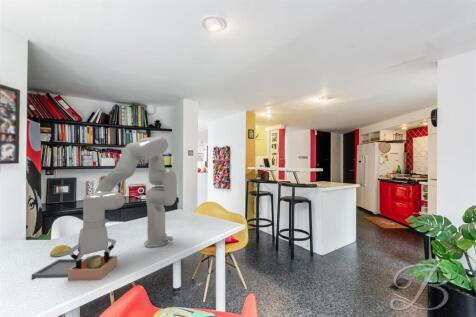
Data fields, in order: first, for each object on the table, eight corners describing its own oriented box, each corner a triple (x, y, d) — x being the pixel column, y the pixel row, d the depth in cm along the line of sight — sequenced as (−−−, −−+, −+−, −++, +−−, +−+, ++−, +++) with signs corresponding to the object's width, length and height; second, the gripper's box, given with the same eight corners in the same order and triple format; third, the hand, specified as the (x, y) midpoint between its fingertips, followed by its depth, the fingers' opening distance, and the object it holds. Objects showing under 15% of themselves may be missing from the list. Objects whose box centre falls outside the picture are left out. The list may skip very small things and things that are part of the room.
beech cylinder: (103, 268, 97) (103, 254, 97) (96, 274, 92) (96, 260, 92) (91, 269, 97) (91, 255, 97) (84, 274, 92) (84, 260, 92)
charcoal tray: (89, 262, 104) (89, 258, 104) (67, 278, 90) (67, 274, 90) (58, 263, 104) (58, 259, 104) (31, 279, 90) (31, 274, 90)
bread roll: (66, 249, 120) (66, 241, 120) (74, 253, 115) (74, 245, 115) (47, 254, 113) (47, 246, 113) (54, 259, 108) (54, 250, 109)
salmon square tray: (117, 265, 101) (117, 255, 101) (100, 281, 88) (100, 269, 88) (88, 266, 100) (88, 256, 100) (67, 281, 88) (67, 270, 88)
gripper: (113, 218, 103) (112, 256, 103) (66, 226, 91) (65, 269, 90) (119, 221, 98) (118, 261, 98) (70, 230, 85) (69, 276, 85)
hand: (93, 265), depth 94 cm, fingers open, 9 cm apart
